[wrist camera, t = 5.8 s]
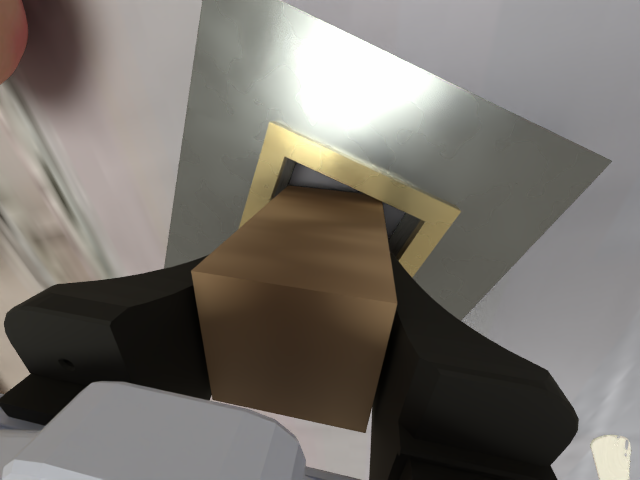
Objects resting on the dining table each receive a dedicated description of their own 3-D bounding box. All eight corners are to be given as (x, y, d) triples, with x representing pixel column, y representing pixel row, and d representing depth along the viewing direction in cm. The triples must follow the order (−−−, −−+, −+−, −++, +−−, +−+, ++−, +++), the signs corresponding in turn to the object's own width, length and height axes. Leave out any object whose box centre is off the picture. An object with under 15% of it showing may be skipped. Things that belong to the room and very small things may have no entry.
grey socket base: (567, 151, 12) (626, 164, 9) (388, 361, 19) (392, 402, 17) (238, -8, 11) (197, -44, 9) (185, 271, 19) (153, 298, 16)
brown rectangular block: (381, 195, 13) (397, 303, 5) (367, 276, 14) (365, 433, 7) (288, 185, 13) (190, 270, 6) (286, 264, 15) (212, 399, 8)
